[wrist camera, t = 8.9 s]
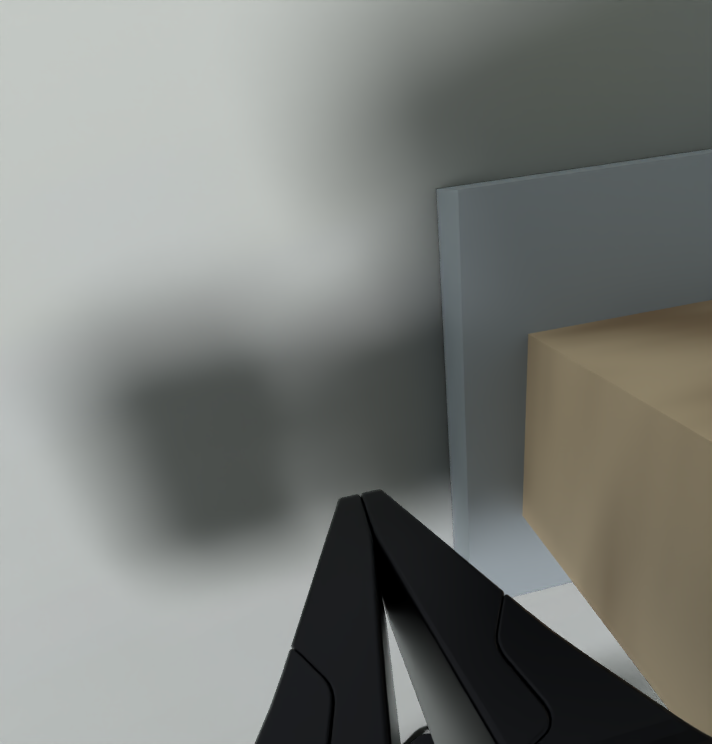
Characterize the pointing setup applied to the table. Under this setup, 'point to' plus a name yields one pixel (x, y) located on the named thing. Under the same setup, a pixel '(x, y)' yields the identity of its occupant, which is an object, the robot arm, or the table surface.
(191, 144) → the table surface
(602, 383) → the cardboard box with slot
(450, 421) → the dock
